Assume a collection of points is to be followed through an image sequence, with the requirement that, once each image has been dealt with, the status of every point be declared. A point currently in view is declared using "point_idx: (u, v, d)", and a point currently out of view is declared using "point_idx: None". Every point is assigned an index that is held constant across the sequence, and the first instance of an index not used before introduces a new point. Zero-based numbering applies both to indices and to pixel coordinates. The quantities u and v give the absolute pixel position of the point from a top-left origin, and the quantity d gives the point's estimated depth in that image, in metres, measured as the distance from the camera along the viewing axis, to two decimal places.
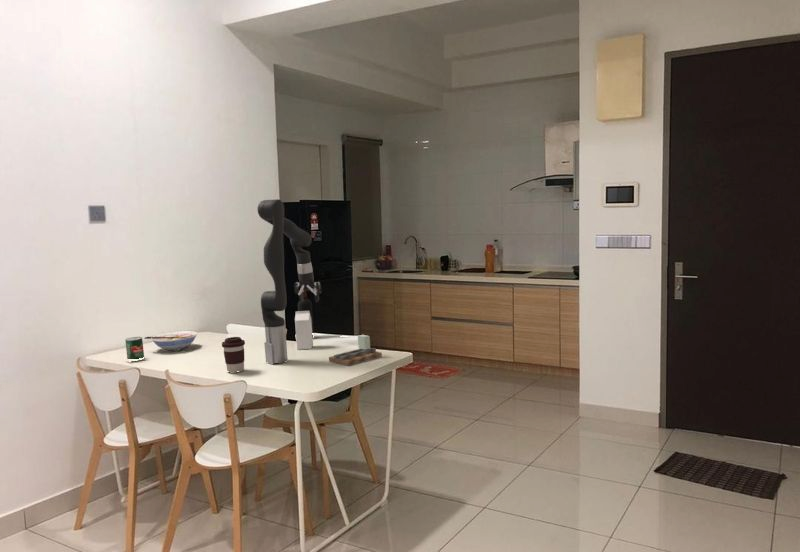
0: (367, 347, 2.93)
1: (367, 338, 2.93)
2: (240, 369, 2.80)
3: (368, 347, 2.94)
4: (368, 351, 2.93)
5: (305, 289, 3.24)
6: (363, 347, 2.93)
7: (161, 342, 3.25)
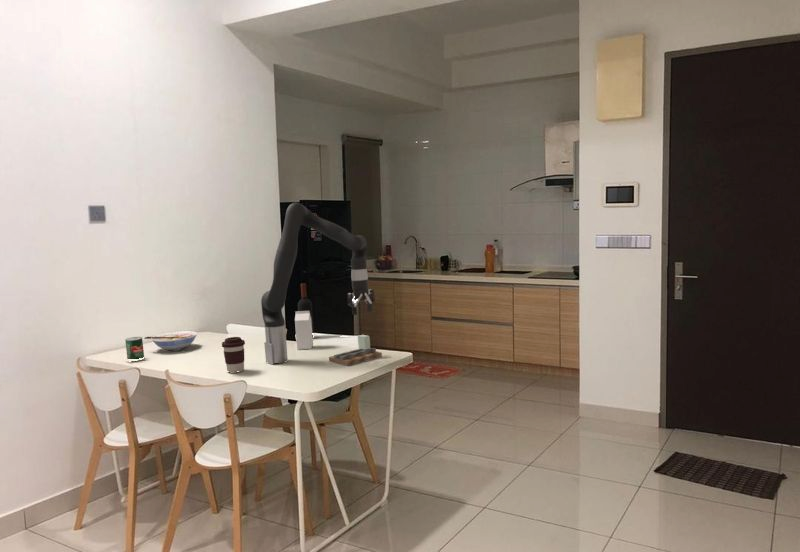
0: (367, 347, 2.93)
1: (367, 338, 2.93)
2: (240, 369, 2.80)
3: (368, 347, 2.94)
4: (368, 351, 2.93)
5: None
6: (363, 347, 2.93)
7: (161, 342, 3.25)
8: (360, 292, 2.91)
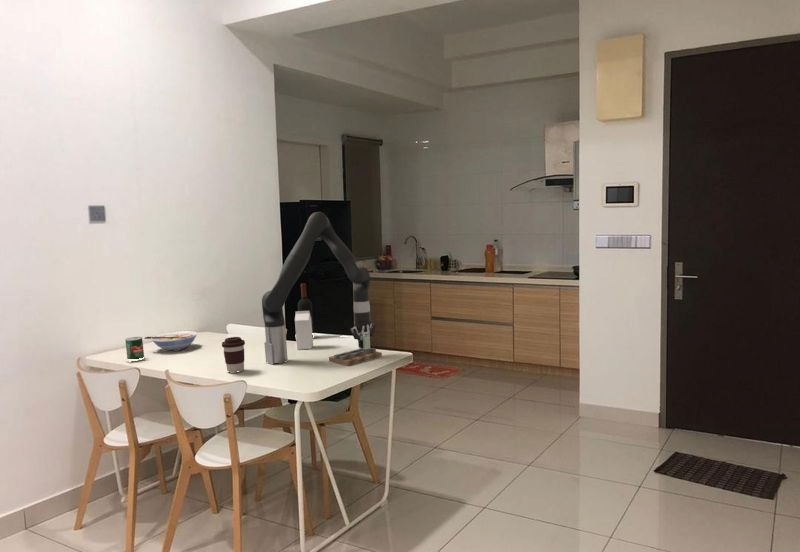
0: (367, 347, 2.93)
1: (367, 338, 2.93)
2: (240, 369, 2.80)
3: (368, 347, 2.94)
4: (368, 351, 2.93)
5: None
6: (363, 347, 2.93)
7: (161, 342, 3.25)
8: (362, 324, 2.93)
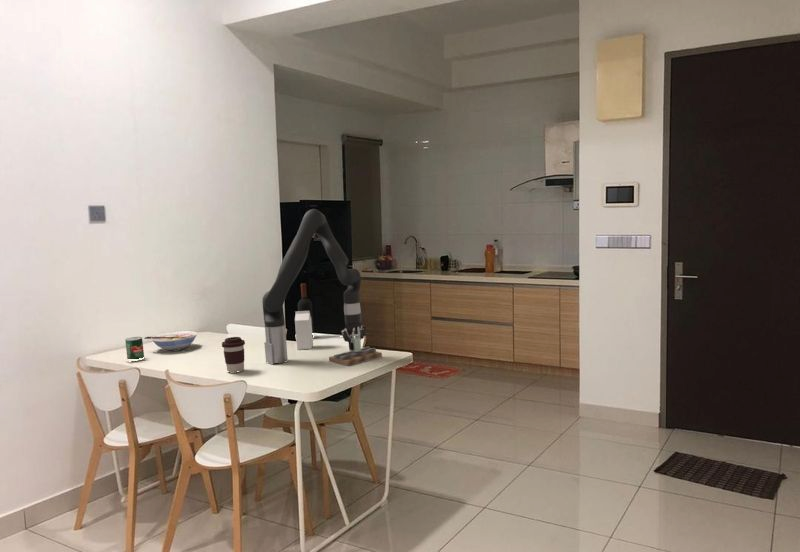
0: (358, 349, 2.90)
1: (358, 340, 2.89)
2: (240, 369, 2.80)
3: (359, 349, 2.90)
4: (368, 351, 2.93)
5: None
6: (354, 349, 2.90)
7: (161, 342, 3.25)
8: (353, 326, 2.89)
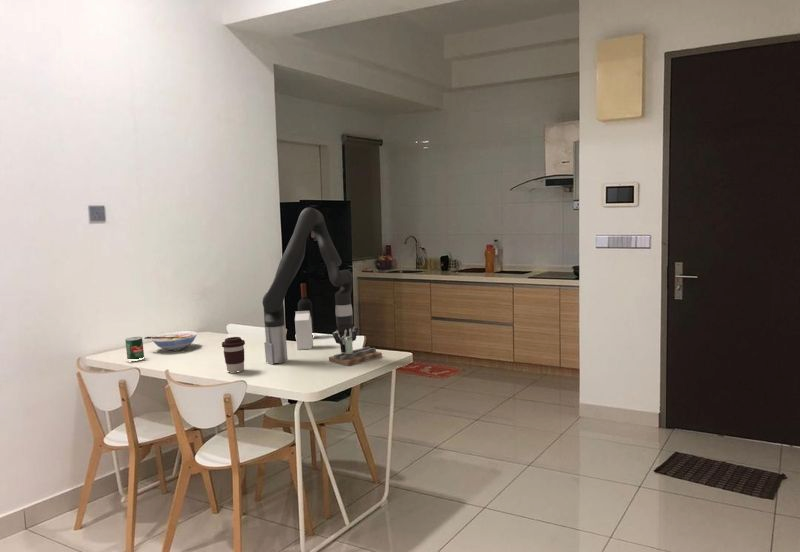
0: (349, 351, 2.87)
1: (349, 342, 2.86)
2: (240, 369, 2.80)
3: (351, 351, 2.87)
4: (368, 351, 2.93)
5: None
6: None
7: (161, 342, 3.25)
8: (344, 328, 2.86)
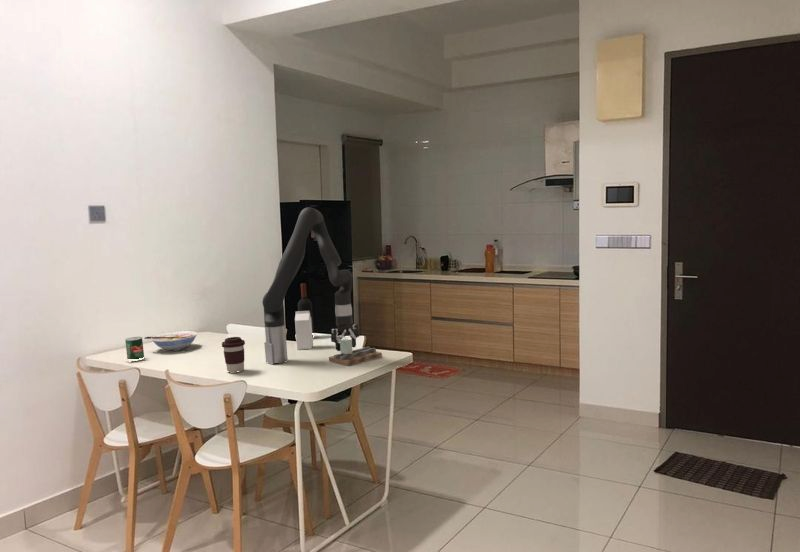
0: (349, 351, 2.86)
1: (349, 342, 2.86)
2: (240, 369, 2.80)
3: (350, 351, 2.87)
4: (368, 351, 2.93)
5: None
6: (345, 351, 2.86)
7: (161, 342, 3.25)
8: (344, 328, 2.85)
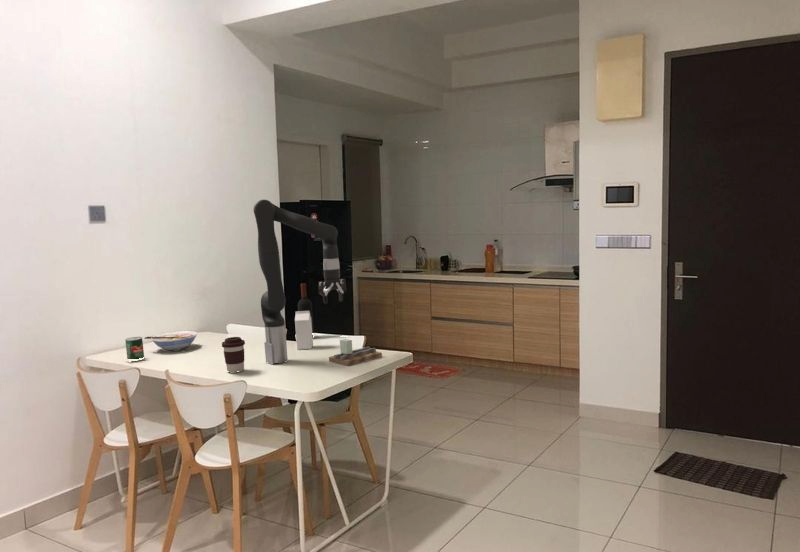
0: (349, 351, 2.86)
1: (349, 342, 2.86)
2: (240, 369, 2.80)
3: (350, 351, 2.87)
4: (368, 351, 2.93)
5: None
6: (345, 351, 2.86)
7: (161, 342, 3.25)
8: (331, 281, 2.95)
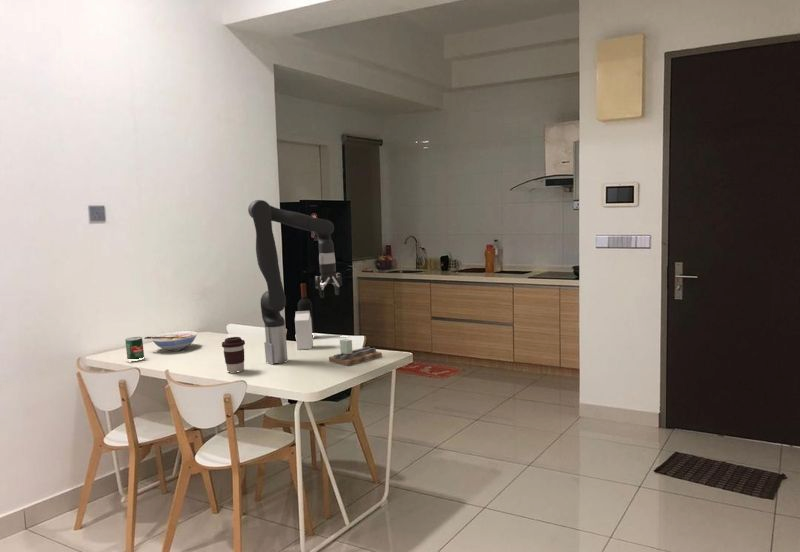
0: (349, 351, 2.86)
1: (349, 342, 2.86)
2: (240, 369, 2.80)
3: (350, 351, 2.87)
4: (368, 351, 2.93)
5: None
6: (345, 351, 2.86)
7: (161, 342, 3.25)
8: (327, 275, 2.99)
